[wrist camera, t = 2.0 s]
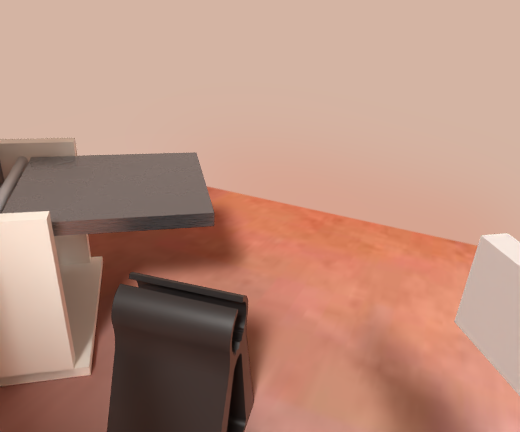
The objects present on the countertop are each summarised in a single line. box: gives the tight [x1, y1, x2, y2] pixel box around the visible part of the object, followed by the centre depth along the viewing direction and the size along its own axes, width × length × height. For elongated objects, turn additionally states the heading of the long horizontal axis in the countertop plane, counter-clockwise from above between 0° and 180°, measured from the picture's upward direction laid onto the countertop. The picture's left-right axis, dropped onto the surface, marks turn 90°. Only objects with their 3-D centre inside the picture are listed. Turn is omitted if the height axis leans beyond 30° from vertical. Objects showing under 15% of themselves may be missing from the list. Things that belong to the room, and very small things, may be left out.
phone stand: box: [107, 272, 254, 432], centre depth 25 cm, size 9×6×12 cm, turn 165°
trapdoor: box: [0, 153, 214, 236], centre depth 33 cm, size 21×11×4 cm, turn 103°
